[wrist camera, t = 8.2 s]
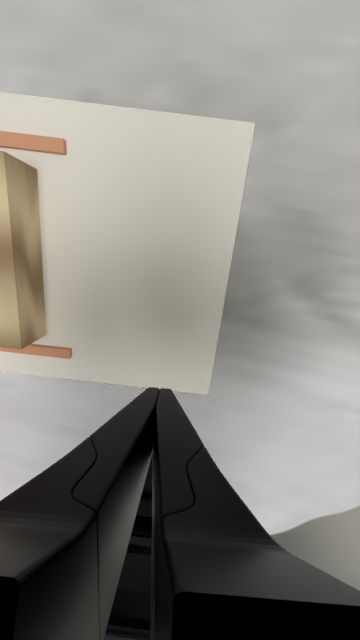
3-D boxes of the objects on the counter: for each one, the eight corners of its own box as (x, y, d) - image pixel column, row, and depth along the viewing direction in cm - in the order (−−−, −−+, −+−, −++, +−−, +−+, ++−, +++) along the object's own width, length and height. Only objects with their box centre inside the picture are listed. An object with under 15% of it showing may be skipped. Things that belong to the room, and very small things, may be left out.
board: (207, 391, 21) (208, 397, 20) (-127, 353, 21) (-140, 358, 20) (252, 126, 15) (256, 119, 14) (-211, 70, 15) (-236, 59, 14)
